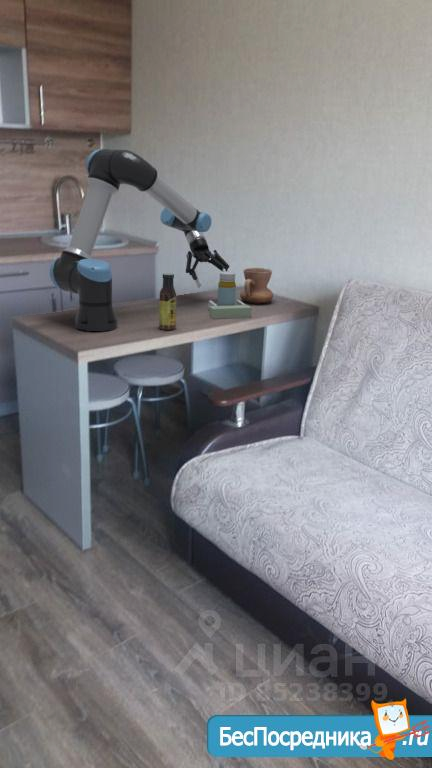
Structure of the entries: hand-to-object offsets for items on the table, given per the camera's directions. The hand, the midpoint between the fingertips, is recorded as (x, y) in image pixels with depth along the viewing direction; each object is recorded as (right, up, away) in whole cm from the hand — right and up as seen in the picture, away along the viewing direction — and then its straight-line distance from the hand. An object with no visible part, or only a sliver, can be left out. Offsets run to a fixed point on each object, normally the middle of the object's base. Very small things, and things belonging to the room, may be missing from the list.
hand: (214, 284), depth 250 cm
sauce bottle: (-17, -21, -30) cm, 40 cm away
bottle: (+5, -11, -5) cm, 13 cm away
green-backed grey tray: (+5, -13, -6) cm, 15 cm away
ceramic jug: (+18, -5, +15) cm, 24 cm away
